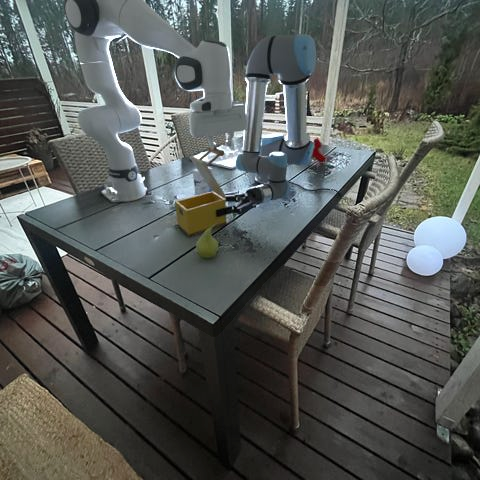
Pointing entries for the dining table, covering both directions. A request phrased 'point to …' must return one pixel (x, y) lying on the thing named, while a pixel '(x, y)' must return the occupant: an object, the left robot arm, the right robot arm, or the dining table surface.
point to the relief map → (222, 157)
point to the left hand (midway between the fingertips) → (221, 147)
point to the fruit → (207, 244)
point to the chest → (200, 213)
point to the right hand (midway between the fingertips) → (210, 208)
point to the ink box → (201, 182)
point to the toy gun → (316, 152)
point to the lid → (206, 172)
